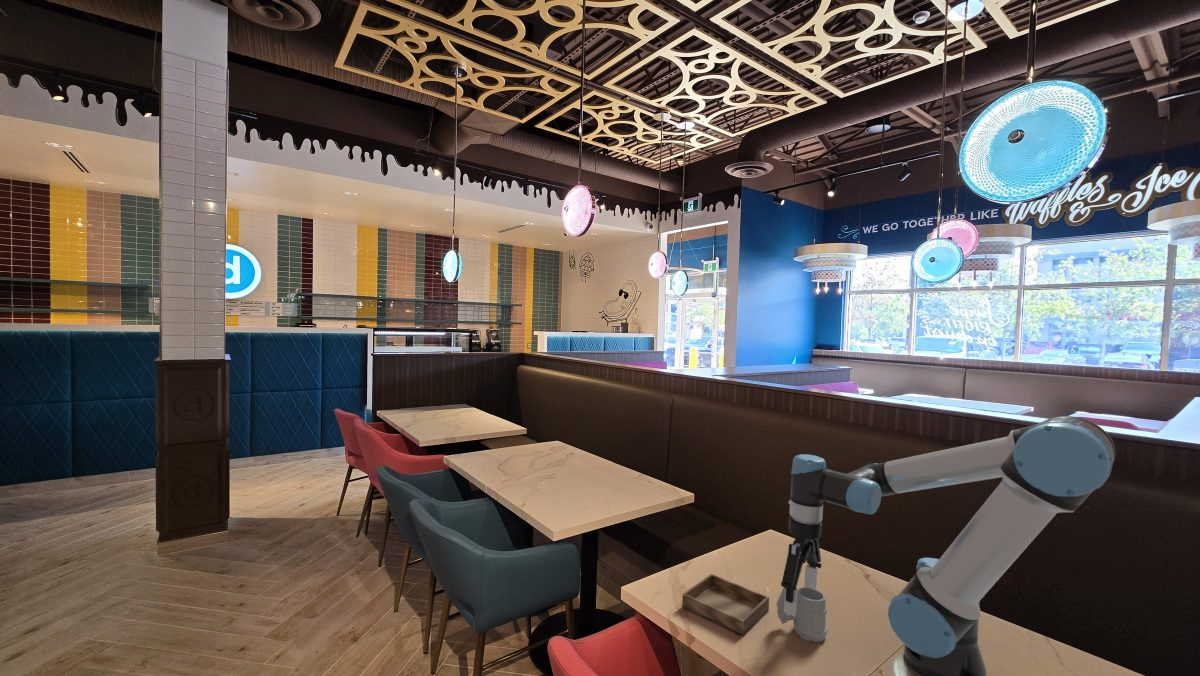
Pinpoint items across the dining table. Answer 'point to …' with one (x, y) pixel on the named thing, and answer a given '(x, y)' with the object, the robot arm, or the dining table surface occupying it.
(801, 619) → the mug
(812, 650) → the dining table surface
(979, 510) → the robot arm
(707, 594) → the wooden tray
